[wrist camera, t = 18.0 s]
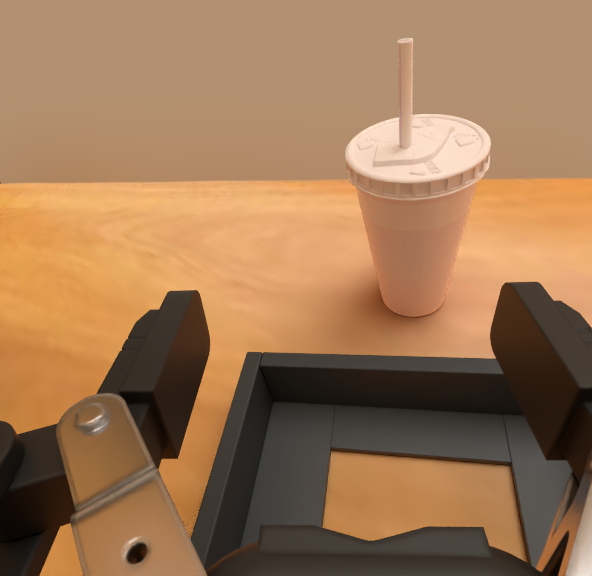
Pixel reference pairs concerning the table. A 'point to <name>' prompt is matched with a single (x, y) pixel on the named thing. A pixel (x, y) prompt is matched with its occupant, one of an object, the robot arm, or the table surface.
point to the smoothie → (416, 195)
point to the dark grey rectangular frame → (362, 438)
